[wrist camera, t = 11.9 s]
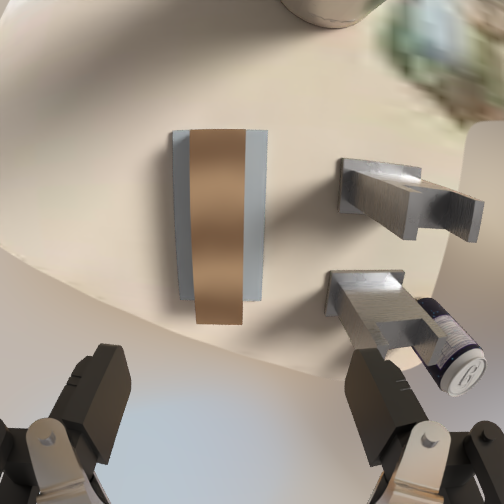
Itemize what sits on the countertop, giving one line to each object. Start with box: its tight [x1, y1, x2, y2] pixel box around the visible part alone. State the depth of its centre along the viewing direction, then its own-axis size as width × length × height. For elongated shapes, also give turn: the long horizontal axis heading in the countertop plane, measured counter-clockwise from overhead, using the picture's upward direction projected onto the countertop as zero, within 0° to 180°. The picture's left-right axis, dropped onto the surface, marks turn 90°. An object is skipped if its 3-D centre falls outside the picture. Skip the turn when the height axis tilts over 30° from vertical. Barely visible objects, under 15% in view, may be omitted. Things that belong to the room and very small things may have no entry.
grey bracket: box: [324, 270, 448, 366], centre depth 26 cm, size 5×8×11 cm, turn 89°
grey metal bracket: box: [338, 158, 484, 243], centre depth 22 cm, size 5×8×11 cm, turn 88°
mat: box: [173, 130, 268, 301], centre depth 27 cm, size 16×8×1 cm, turn 179°
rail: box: [190, 129, 246, 325], centre depth 25 cm, size 16×4×4 cm, turn 179°
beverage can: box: [411, 298, 487, 397], centre depth 27 cm, size 6×6×12 cm
